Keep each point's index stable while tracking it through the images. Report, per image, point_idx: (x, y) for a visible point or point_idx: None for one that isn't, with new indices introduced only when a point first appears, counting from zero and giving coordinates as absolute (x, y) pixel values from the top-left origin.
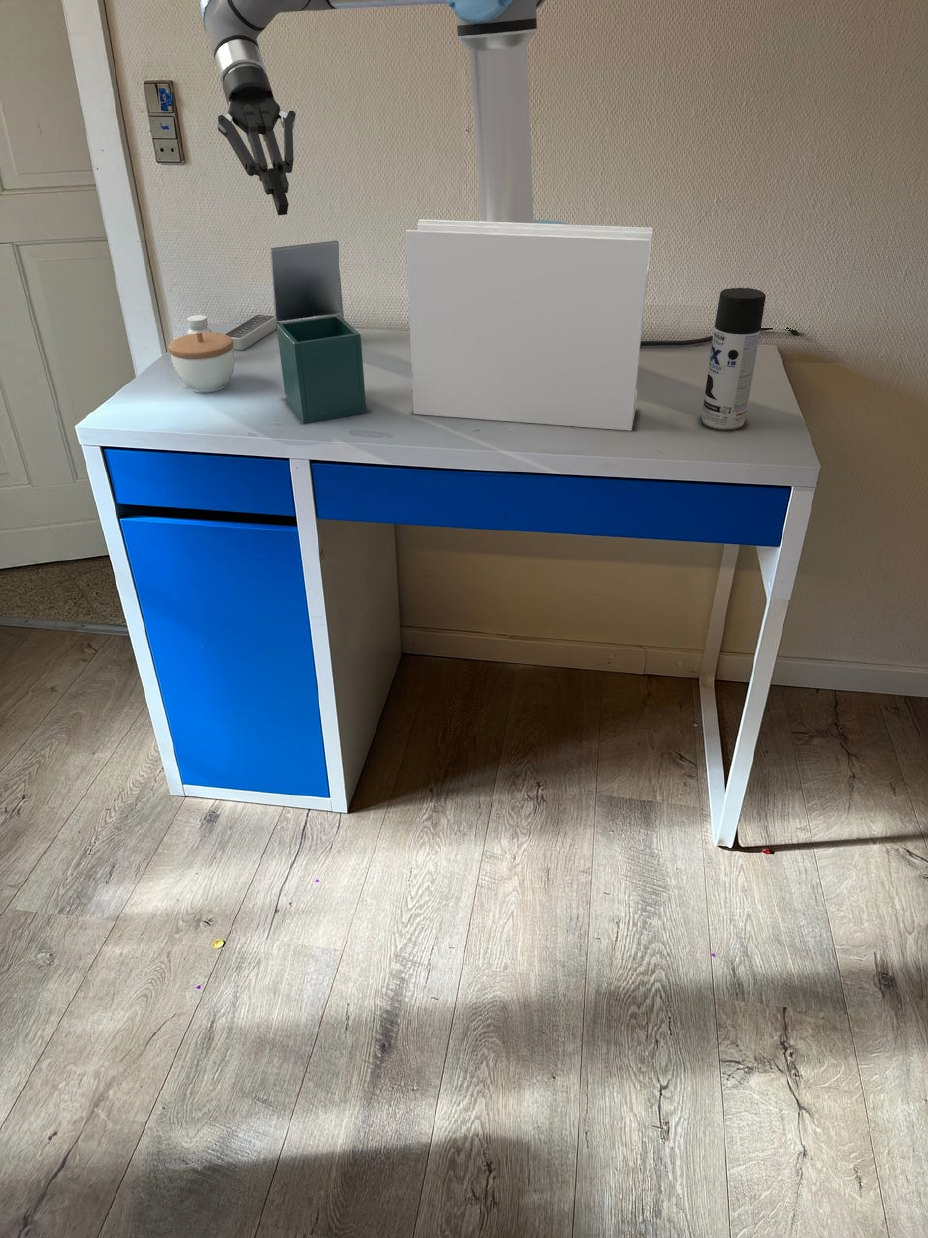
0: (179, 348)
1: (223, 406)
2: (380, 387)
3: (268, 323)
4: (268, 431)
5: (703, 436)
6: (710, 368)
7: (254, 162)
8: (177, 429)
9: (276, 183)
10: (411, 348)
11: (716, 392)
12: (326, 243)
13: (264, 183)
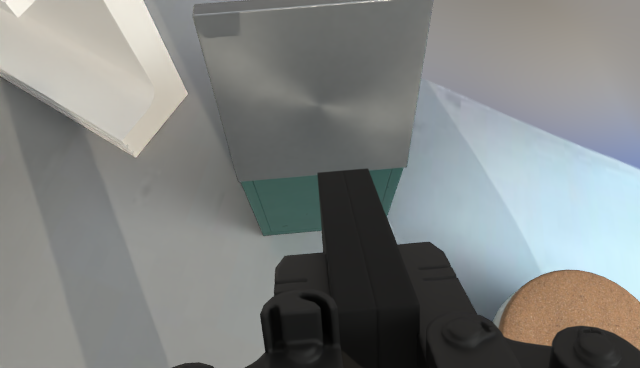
0: (634, 314)
1: (503, 233)
2: (197, 225)
3: None
4: (427, 103)
5: None
6: None
7: (566, 352)
8: (580, 157)
9: (367, 229)
10: (151, 19)
11: None
12: (237, 3)
13: (450, 270)
